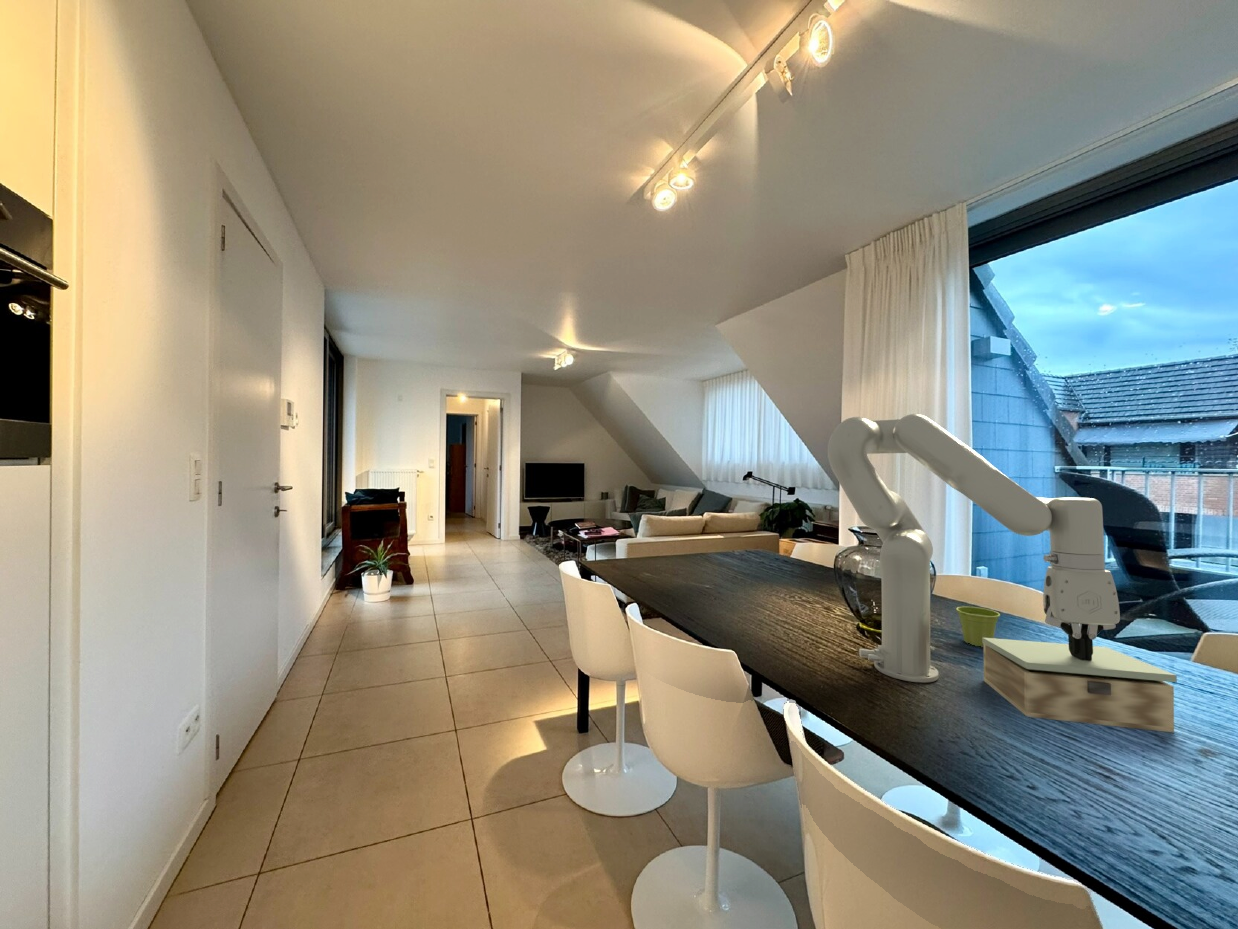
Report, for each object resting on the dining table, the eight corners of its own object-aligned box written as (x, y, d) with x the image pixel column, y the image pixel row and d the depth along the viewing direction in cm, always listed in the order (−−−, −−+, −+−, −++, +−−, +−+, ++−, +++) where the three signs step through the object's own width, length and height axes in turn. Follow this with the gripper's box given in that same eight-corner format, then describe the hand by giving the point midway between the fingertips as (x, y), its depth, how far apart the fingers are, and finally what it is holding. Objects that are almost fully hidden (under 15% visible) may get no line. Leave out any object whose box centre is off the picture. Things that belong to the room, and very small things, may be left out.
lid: (1026, 669, 89) (1026, 662, 89) (982, 643, 105) (982, 637, 105) (1176, 682, 84) (1176, 675, 84) (1106, 652, 100) (1106, 647, 100)
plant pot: (952, 643, 128) (952, 610, 128) (961, 635, 135) (960, 604, 135) (996, 653, 121) (996, 618, 122) (1003, 644, 128) (1003, 611, 128)
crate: (1028, 717, 89) (1028, 674, 89) (983, 680, 105) (983, 643, 105) (1176, 733, 84) (1176, 687, 84) (1105, 692, 100) (1105, 653, 100)
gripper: (1043, 563, 91) (1047, 662, 91) (1140, 566, 88) (1145, 668, 87) (1020, 557, 98) (1024, 648, 98) (1109, 559, 95) (1113, 653, 94)
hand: (1081, 657), depth 92 cm, fingers closed
